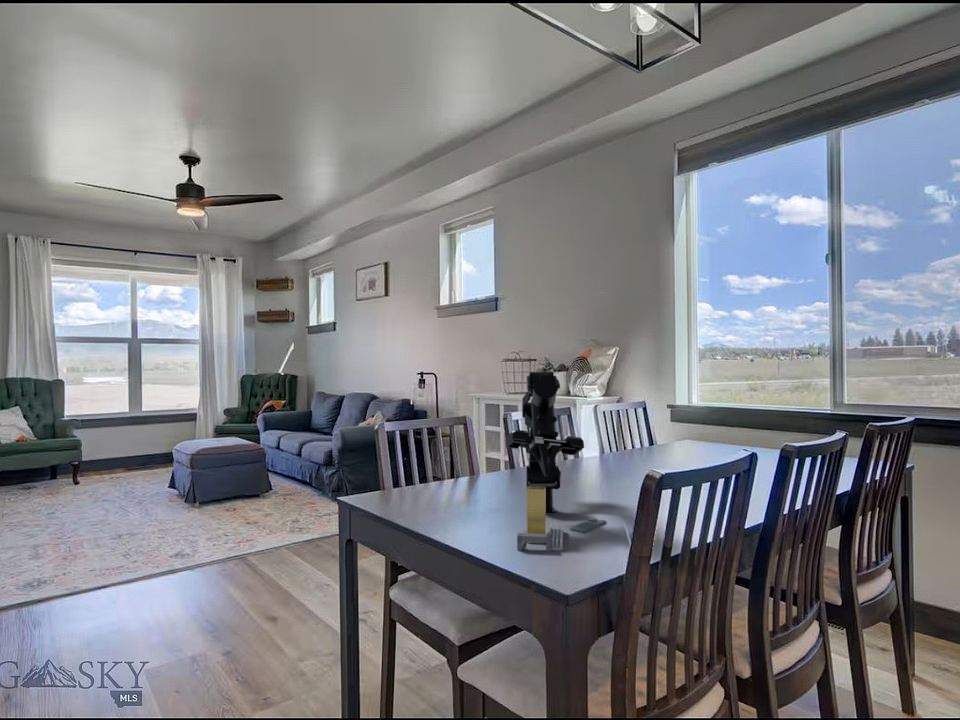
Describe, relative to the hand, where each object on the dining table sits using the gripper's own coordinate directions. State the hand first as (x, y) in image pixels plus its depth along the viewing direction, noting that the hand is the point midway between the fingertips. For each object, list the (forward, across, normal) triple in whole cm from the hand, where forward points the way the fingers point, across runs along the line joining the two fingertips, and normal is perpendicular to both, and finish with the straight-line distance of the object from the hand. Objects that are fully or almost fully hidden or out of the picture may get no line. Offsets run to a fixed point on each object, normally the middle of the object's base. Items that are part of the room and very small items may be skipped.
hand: (546, 476), depth 140 cm
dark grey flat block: (+12, -11, -2) cm, 16 cm away
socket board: (+17, +5, +3) cm, 18 cm away
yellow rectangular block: (+15, +4, +2) cm, 16 cm away
